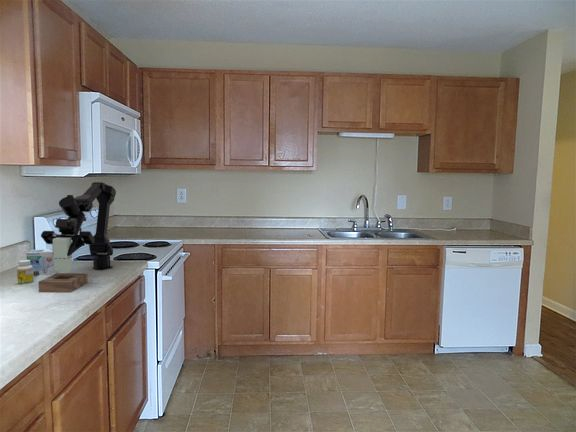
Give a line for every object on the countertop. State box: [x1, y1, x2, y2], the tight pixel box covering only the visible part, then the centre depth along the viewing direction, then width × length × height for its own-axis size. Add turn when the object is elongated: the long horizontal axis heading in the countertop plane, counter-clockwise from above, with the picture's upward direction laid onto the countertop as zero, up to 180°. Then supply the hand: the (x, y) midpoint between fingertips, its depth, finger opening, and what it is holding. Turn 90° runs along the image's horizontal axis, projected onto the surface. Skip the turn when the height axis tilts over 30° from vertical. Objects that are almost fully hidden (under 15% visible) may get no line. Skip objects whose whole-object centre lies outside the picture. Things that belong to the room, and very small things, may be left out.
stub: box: [52, 237, 74, 272], centre depth 158 cm, size 4×5×12 cm
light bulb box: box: [26, 248, 59, 277], centre depth 180 cm, size 11×7×11 cm, turn 105°
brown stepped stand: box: [38, 272, 89, 293], centre depth 159 cm, size 20×16×5 cm
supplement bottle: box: [16, 259, 34, 285], centre depth 165 cm, size 5×5×10 cm
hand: (60, 255), depth 157 cm, fingers open, 5 cm apart
